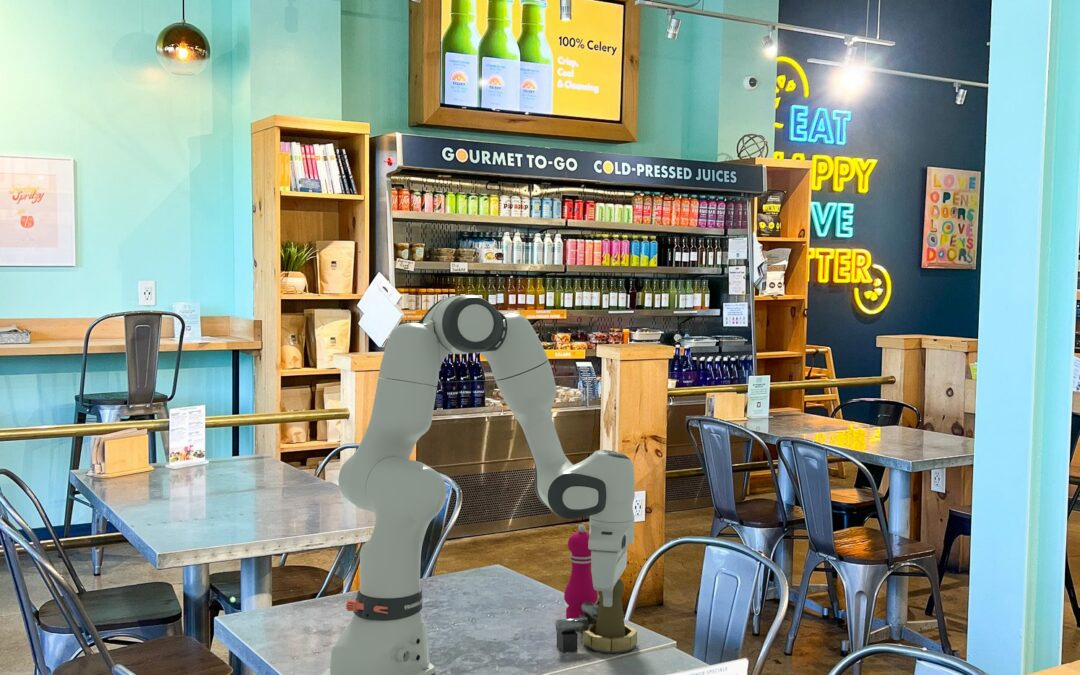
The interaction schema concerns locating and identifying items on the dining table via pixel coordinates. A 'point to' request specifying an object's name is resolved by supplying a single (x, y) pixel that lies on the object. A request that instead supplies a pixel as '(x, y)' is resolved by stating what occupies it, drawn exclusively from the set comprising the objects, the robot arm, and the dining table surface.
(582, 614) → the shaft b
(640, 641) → the dining table surface
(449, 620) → the dining table surface
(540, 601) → the dining table surface
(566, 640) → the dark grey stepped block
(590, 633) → the coupling collar
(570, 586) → the pepper mill
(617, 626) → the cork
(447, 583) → the dining table surface
